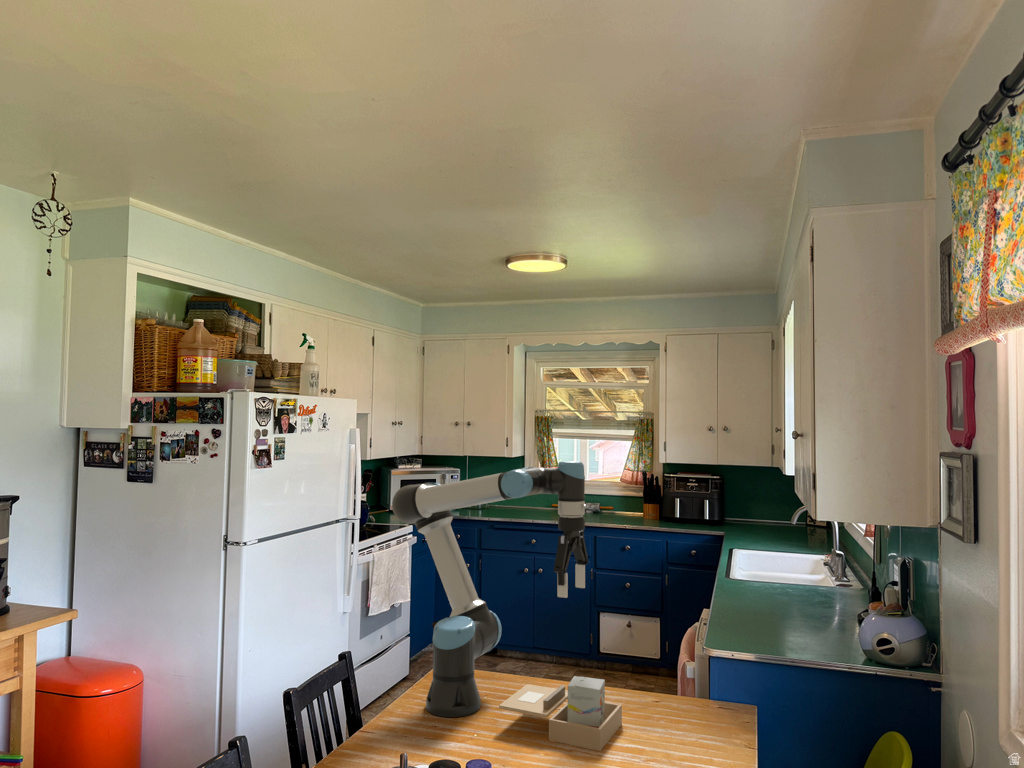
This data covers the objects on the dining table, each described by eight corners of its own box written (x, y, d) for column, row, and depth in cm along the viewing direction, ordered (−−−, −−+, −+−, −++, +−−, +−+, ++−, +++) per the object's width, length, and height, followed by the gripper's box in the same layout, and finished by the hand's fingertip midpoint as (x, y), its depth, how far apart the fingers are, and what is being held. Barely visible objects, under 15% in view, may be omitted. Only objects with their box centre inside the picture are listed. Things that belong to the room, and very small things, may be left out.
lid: (499, 708, 179) (499, 696, 180) (527, 686, 195) (527, 675, 195) (546, 717, 173) (546, 705, 174) (572, 694, 189) (571, 683, 189)
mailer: (548, 740, 173) (548, 719, 173) (574, 715, 188) (574, 696, 189) (600, 751, 167) (600, 729, 167) (621, 724, 182) (621, 704, 183)
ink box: (600, 738, 173) (599, 689, 174) (566, 733, 175) (566, 685, 176) (605, 724, 181) (605, 677, 182) (573, 720, 183) (573, 674, 184)
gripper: (567, 521, 184) (567, 602, 183) (598, 512, 207) (599, 585, 205) (541, 519, 188) (541, 599, 186) (575, 511, 210) (575, 582, 208)
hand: (571, 592), depth 196 cm, fingers open, 13 cm apart
